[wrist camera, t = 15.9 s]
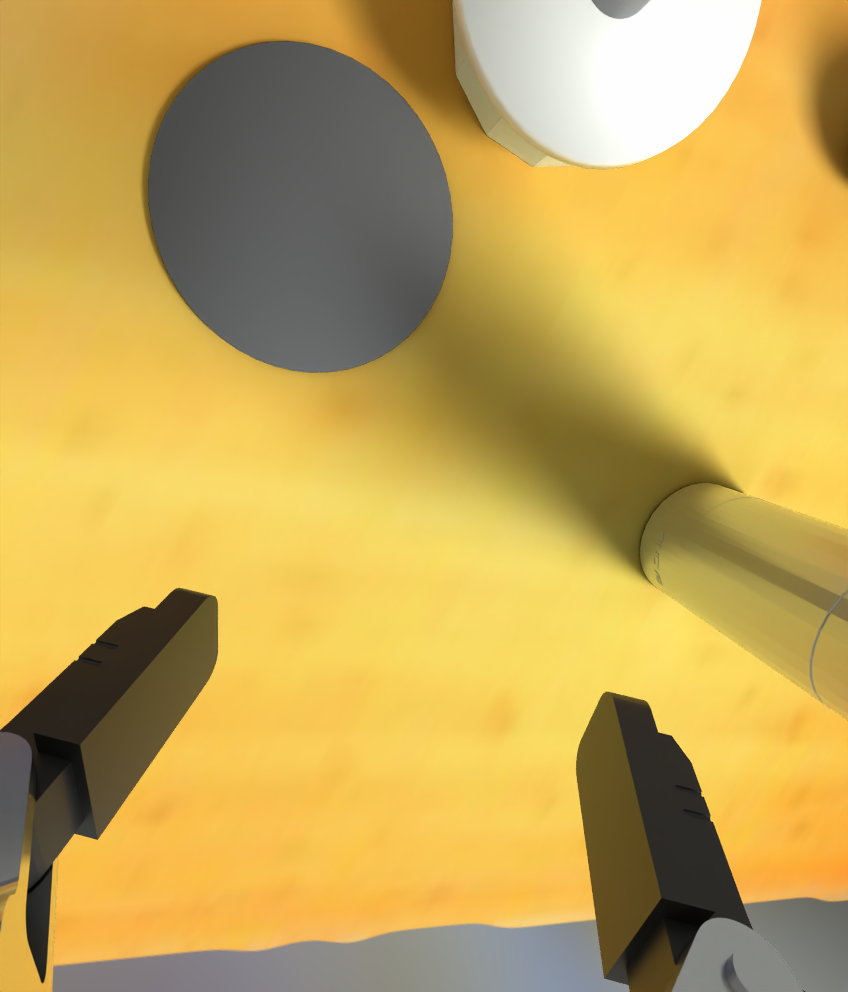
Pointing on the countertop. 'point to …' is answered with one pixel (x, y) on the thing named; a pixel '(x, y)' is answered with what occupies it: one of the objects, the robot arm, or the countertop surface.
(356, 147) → the mat
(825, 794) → the countertop surface
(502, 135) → the bowl
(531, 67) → the lid
